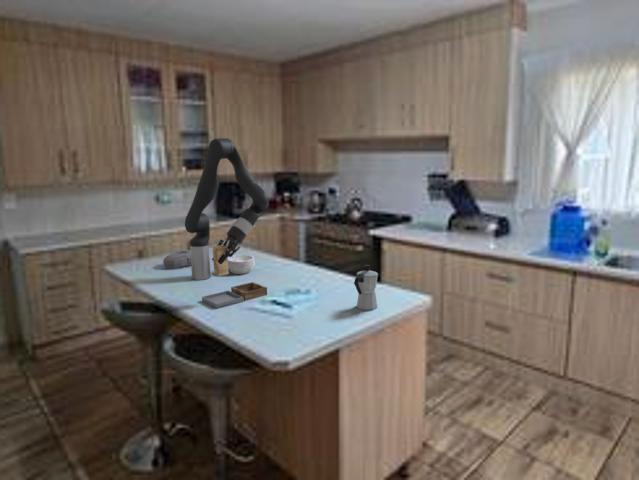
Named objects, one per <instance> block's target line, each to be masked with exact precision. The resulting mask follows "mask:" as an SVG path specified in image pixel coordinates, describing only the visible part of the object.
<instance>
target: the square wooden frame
mask: <svg viewBox="0 0 639 480" xmlns="http://www.w3.org/2000/svg"><path fill="white" fill-rule="evenodd" d="M230 292H233V293H235V294H237V295H239V296H242V297H244V302H245V301H249V300H253V299H257V298H261V297H264V296H267V295H268V287H267V286H265V285H262V284H258V283H256V282H253V281H252V282H248V283H243V284H239V285H235V286H231V287H230Z"/></svg>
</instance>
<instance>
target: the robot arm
mask: <svg viewBox="0 0 639 480" xmlns="http://www.w3.org/2000/svg"><path fill="white" fill-rule="evenodd" d="M222 159H223V160H224V159H227V160H228V161H229V163H230V164H231V165H232V167H233V169H234V170H233V171H234V175H235V176H234V177H235V179H236V181H237V184H238V186H240V188H241V189H242V191H243V192H244V193H245V194H246V195H248V196H249V197H250V199H251V201H252V204H251V205H250V206H249V207H248V208H246V209H245V210H244V211H243V212H242V213H241V215H239V217H238V218H237V219H236V220H235V222H234V223H233V224H232V226H231V227H230V229H228V231H227V232H226V236H227V237H226V238H225V239H224V240H223V239H222V238H221V239H219V242H218V244H217V245H216V246H219V245H223V246H227V247H226V248H225V251H224V253H223V254H222V256H221V257H220V258H219V260H218V263H220V264H222V263H223V262H224V261H225V259H226V258H228V257H232V256H233V255H235V253H237V252H238V250H240V248H241V246H240V244H242V243H243V242H244V240H245V238H246V237H247V236H248V235H249V233H250V232H251V229H252V228H253V226H254V225H255V224H256V222H257V221H258V220H259V218H260V217H261V216H262V215H263V214H264V213H265V212H266V211H267V210H268V207H269V205H270V199H269V198H270V197H269V195H268V194H267V192H266V191H265V189H264V188H262V186H260V184H258V182H257V181H256V179H255V178H254V176H253V175H252V174H251V173H250V171H249V170H248V168H247V166H246V164H245V162H244V160H243V159H242V156H241V154H240V152H239V150H238V148H237V146H236V145H235V143H234V142H233V141H232V139H230V138H227V137H226V138H224V137H223V138H221V137H220V138H214V139H212V140H211V141H210V142H209V145H208V147H207V151H206V157H205V162H204V164H203V165H204V166H203V169H202V173H201V176H200V178H199V182H198V185H197V188H196V191H195V195H194V197H193V200H192V203H191V205H190V208H189V210H188V212H187V215H186V216H185V219H184V220H185V221H184V228H185V231H187V232H188V233H190V234H195V236H194V237H192V238H191V239H190V240H189V250H190V253H191V278H192V280H195V281H203V280H204V281H205V280H209V279H210V278H211V275H212V274H211V260H212V261H213V257H212V258H211V257H210V248H209V247H210V246H209V245H210V244H209V242H210V238H211V237H210V235H211V233H210V231H211V230H210V229H211V228H210V226H211V225H210V218H209V216H208V215H207V213H203V212H204V210H205V209H206V208H207V207H208V206H209V205H210V204H211V202H212V201H213V200H214V199H215V197H216V196H217V193H218V190H219V187H220V180H219V175H218V167H219V163H220V161H221V160H222ZM210 258H211V260H210Z"/></svg>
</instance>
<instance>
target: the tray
mask: <svg viewBox="0 0 639 480" xmlns="http://www.w3.org/2000/svg"><path fill="white" fill-rule="evenodd" d="M201 302H203V303H204V304H206V305H209V306H211V307H213V309H217V310H218V309H221V308H225V307H228V306H233V305H237V304H240V303H243V302H245V300H244V297H242V296H239V295H237V294H235V293H233V292H231V290H224V291H220V292H217V293H216V292H215V293H212V294H208V295H205V296H201Z"/></svg>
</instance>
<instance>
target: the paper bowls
mask: <svg viewBox="0 0 639 480" xmlns="http://www.w3.org/2000/svg"><path fill="white" fill-rule="evenodd" d="M255 265H256V264H255V257H254V256H253V255H250V254H249V255H248V254H233V256H232V257H228V270H230V273H232V274H235V275H243V274H248V273H250V272H251V270H252V269H253V268H254V267H255Z"/></svg>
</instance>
